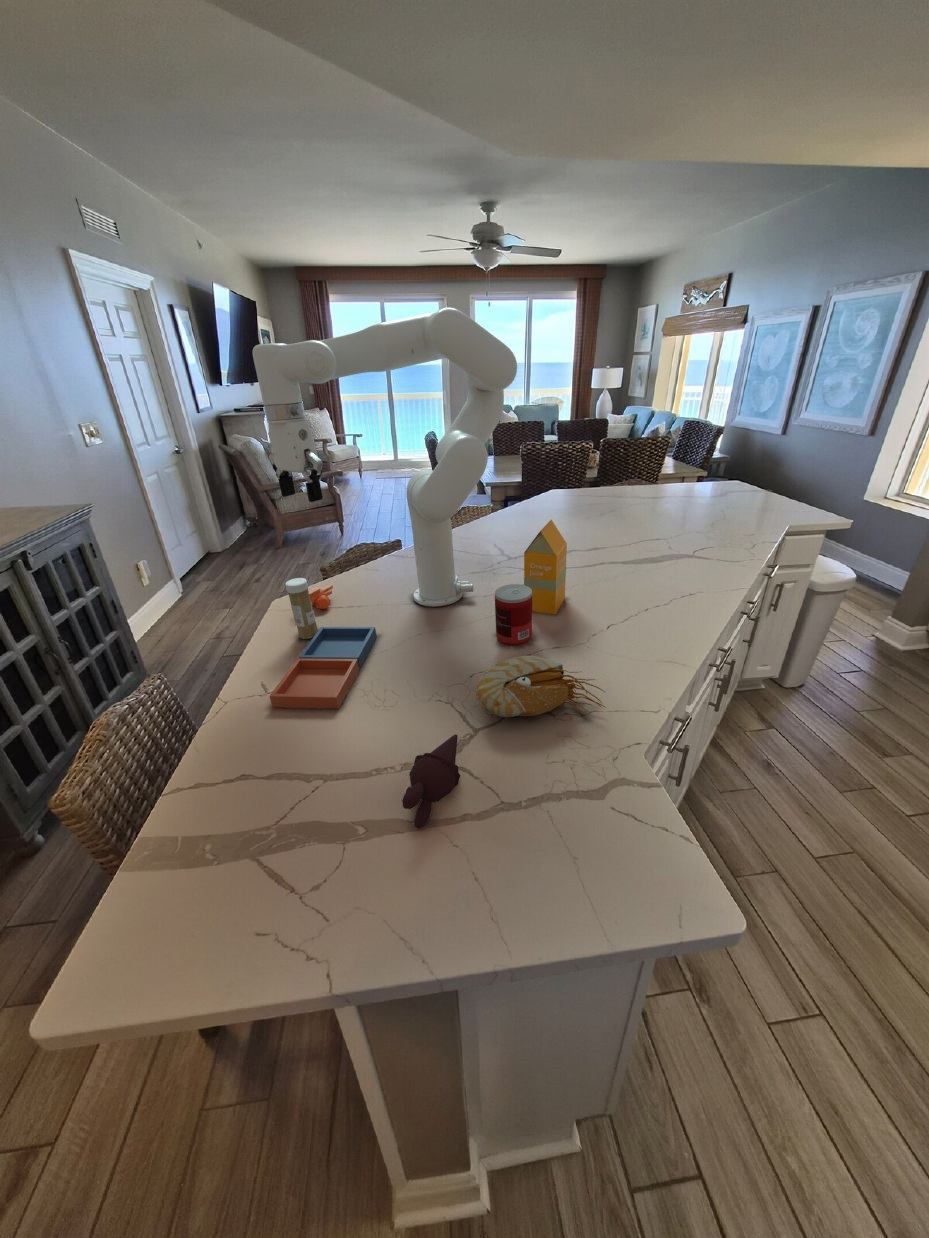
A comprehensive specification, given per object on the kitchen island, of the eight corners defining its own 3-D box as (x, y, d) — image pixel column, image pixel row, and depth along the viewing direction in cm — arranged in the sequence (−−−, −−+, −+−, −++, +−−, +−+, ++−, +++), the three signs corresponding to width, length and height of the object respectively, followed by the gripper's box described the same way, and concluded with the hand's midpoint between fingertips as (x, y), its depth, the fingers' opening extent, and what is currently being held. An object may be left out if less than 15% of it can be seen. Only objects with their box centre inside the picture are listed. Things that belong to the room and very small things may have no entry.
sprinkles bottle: (321, 635, 113) (309, 581, 107) (302, 642, 111) (288, 587, 104) (315, 628, 116) (302, 575, 110) (296, 634, 114) (282, 580, 108)
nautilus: (609, 695, 88) (595, 756, 76) (494, 669, 95) (465, 721, 83) (615, 660, 84) (601, 718, 72) (495, 635, 91) (464, 685, 79)
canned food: (535, 630, 109) (535, 585, 104) (527, 649, 102) (527, 601, 97) (501, 627, 111) (500, 582, 106) (491, 645, 105) (490, 598, 99)
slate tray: (376, 636, 111) (375, 626, 110) (360, 668, 100) (358, 657, 99) (323, 636, 112) (320, 626, 111) (300, 667, 101) (298, 657, 100)
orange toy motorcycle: (323, 576, 129) (287, 594, 120) (345, 589, 127) (310, 608, 118) (322, 591, 132) (287, 610, 123) (343, 604, 130) (309, 624, 121)
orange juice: (565, 599, 122) (568, 520, 112) (555, 614, 115) (558, 532, 105) (534, 594, 125) (535, 517, 115) (523, 610, 118) (523, 529, 108)
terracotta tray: (359, 669, 100) (357, 658, 98) (338, 708, 88) (336, 697, 87) (300, 668, 101) (297, 658, 100) (272, 707, 90) (269, 696, 89)
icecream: (427, 717, 75) (377, 796, 64) (470, 717, 71) (425, 801, 60) (443, 750, 78) (397, 832, 67) (484, 752, 74) (444, 839, 63)
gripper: (327, 412, 98) (341, 498, 106) (276, 410, 107) (293, 490, 115) (295, 416, 92) (312, 507, 100) (245, 414, 102) (264, 497, 110)
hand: (302, 497), depth 108 cm, fingers open, 9 cm apart
